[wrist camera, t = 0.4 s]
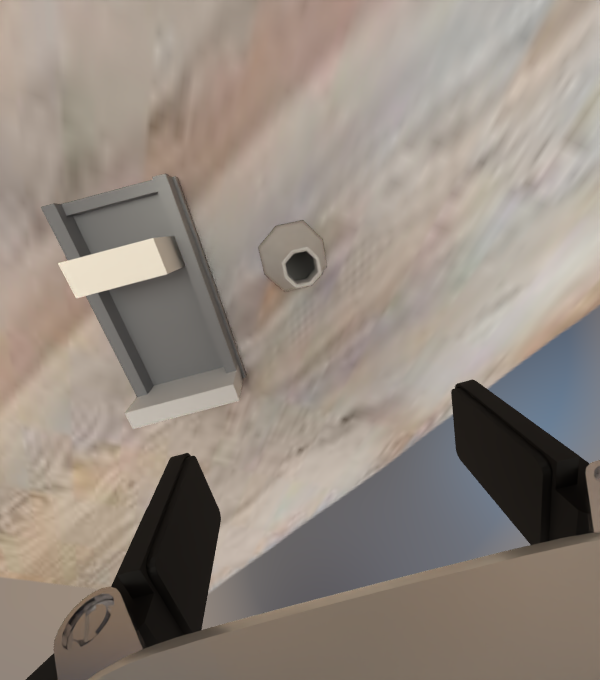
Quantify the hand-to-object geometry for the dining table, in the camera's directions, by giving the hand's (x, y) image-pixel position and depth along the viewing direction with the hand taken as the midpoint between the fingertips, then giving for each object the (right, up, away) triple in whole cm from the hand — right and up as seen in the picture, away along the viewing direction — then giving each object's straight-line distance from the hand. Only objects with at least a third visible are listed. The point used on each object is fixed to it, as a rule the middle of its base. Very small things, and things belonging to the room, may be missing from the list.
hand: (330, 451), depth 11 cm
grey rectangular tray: (-16, +8, +23) cm, 29 cm away
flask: (-2, +13, +23) cm, 26 cm away
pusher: (-17, +12, +20) cm, 29 cm away
